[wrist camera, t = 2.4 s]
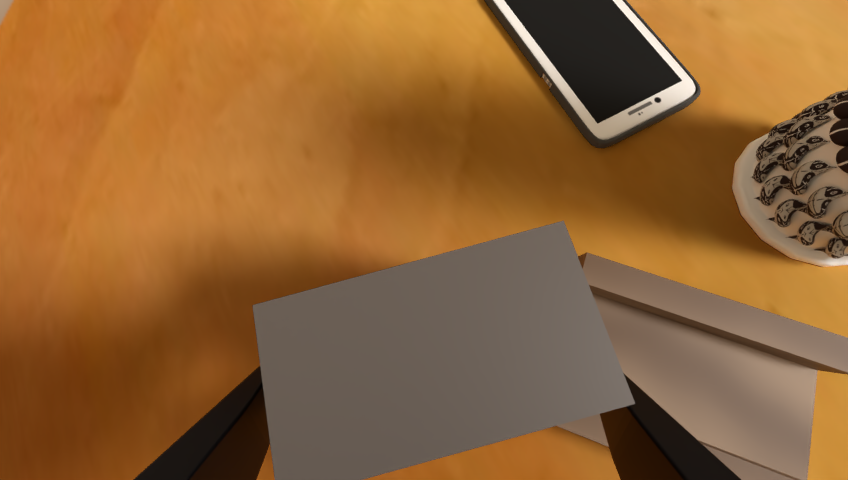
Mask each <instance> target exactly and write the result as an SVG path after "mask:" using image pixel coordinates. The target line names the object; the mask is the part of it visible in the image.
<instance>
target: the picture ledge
mask: <svg viewBox="0 0 848 480" xmlns="http://www.w3.org/2000/svg"><path fill="white" fill-rule="evenodd" d="M578 259H579V261H580V264H581V266H582V269H583V271H584V274H585V277H586V279H587V282H588V284H589V287H590V289H591V292H592V294H593V297H594V299H595V302H596V305H597V307H598V310H599V312H600V315H601V317H602V320H603V322H604V325H605V328H606V330H607V333H608V335H609V338H610V340H611V343H612V345H613V348H614V351H615V353H616V356H617V358H618V361H619V363H620V366H621V368H622V371H623V373H624V374H625V375H626V376H627V377H629V378H630V379H631V380H632V381H633V382H634V383H635V384H636V385H637V386H639V387H640V388H641V389H642V390H643V391H644V392H645V393H646V394H647V395H648V396H650V397H651V398H652V399H653V400H654V401H655V402H656V403H657V404H658V405H660V406H661V407H662V408H663V409H664V410H665V411H666V412H667V413H668V414H669V415H671V416H672V417H673V418H674V419H675V420H676V421H677V422H678V423H679V424H681V425H682V426H683V427H684V428H685V429H686V430H687V431H688V432H689V433H691V434H692V435H693V436H694V437H695V438H696V439H697V440H698V441H699V442H700V443H702V444H703V445H704V446H705V447H706V448H707V449H708V450H709V451H710V452H712V453H713V454H714V455H715V456H716V457H717V458H718V459H719V460H720V461H722V462H723V463H724V464H725V465H726V466H727V467H728V468H729V469H730V470H731V471H733V472H734V473H735V474H736V475H737V476H738V477H739V478H740V479H741V480H807V476H808V465H809V454H810V444H811V433H812V422H813V412H814V401H815V390H816V380H817V370H820V371H827V372H834V373H842V374H848V338H847V337H844V336H840V335H837V334H834V333H831V332H828V331H825V330H822V329H819V328H816V327H813V326H810V325H807V324H804V323H801V322H798V321H795V320H792V319H788V318H785V317H782V316H779V315H776V314H773V313H770V312H767V311H764V310H761V309H758V308H755V307H752V306H749V305H746V304H743V303H740V302H736V301H733V300H730V299H727V298H724V297H721V296H718V295H715V294H712V293H709V292H706V291H703V290H700V289H697V288H694V287H691V286H688V285H684V284H681V283H678V282H675V281H672V280H669V279H666V278H663V277H660V276H657V275H654V274H651V273H648V272H645V271H642V270H639V269H635V268H632V267H629V266H626V265H623V264H620V263H617V262H614V261H611V260H608V259H605V258H602V257H599V256H596V255H593V254H590V253H585V254H583V255H581V256H578ZM557 426H558V427H560V428H563V429H565V430H568V431H570V432H573V433H575V434H578V435H580V436H583V437H585V438H588V439H590V440H593V441H595V442H598V443H600V444H603V445H605V446H608V442H607V439H606V435H605V431H604V428H603V424H602V421H601V417H600V414H597V415H593V416H590V417H586V418H582V419H579V420H575V421H572V422H568V423H564V424H561V425H557ZM608 447H609V446H608Z"/></svg>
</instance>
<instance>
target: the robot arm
mask: <svg viewBox="0 0 848 480" xmlns="http://www.w3.org/2000/svg"><path fill="white" fill-rule="evenodd" d="M624 376H625V379H626V381H627V384H628V386H629V389H630V391H631V394H632V396H633V399H634V402H635V404H633V405H629V406H626V407H622V408H618V409H615V410H611V411H608V412H604V413H600V417H601V421H602V424H603V428H604V431H605V435H606V439H607V442H608V446H609V449H610V452H611V455H612V458H613V461H614V464H615V466H616V469H617V471H618V474H619V476H620V479H621V480H741V479H740V478H739V477H738V476H737V475H736V474H735V473H734V472H733V471H731V470H730V469H729V468H728V467H727V466H726V465H725V464H724V463H723V462H722V461H720V460H719V459H718V458H717V457H716V456H715V455H714V454H713V453H712V452H710V451H709V450H708V449H707V448H706V447H705V446H704V445H703V444H702V443H700V442H699V441H698V440H697V439H696V438H695V437H694V436H693V435H692V434H691V433H689V432H688V431H687V430H686V429H685V428H684V427H683V426H682V425H681V424H679V423H678V422H677V421H676V420H675V419H674V418H673V417H672V416H671V415H669V414H668V413H667V412H666V411H665V410H664V409H663V408H662V407H661V406H660V405H658V404H657V403H656V402H655V401H654V400H653V399H652V398H651V397H650V396H648V395H647V394H646V393H645V392H644V391H643V390H642V389H641V388H640V387H639V386H637V385H636V384H635V383H634V382H633V381H632V380H631V379H630V378H629V377H627V376H626V375H625V374H624ZM269 444H270V438H269V430H268V422H267V414H266V406H265V399H264V391H263V383H262V375H261V367H260V366H259V367H258V368H257V369H256V370H255V371H254V372H252V373H251V374H250V375H249V376H248V377H247V378H246V379H245V380H244V381H242V382H241V383H240V384H239V385H238V386H237V387H236V388H235V389H234V390H232V391H231V392H230V393H229V394H228V395H227V396H226V397H225V398H224V399H222V400H221V401H220V402H219V403H218V404H217V405H216V406H215V407H214V408H212V409H211V410H210V411H209V412H208V413H207V414H206V415H205V416H204V417H202V418H201V419H200V420H199V421H198V422H197V423H196V424H195V425H194V426H193V427H191V428H190V429H189V430H188V431H187V432H186V433H185V434H184V435H183V436H181V437H180V438H179V439H178V440H177V441H176V442H175V443H174V444H173V445H171V446H170V447H169V448H168V449H167V450H166V451H165V452H164V453H163V454H161V455H160V456H159V457H158V458H157V459H156V460H155V461H154V462H153V463H151V464H150V465H149V466H148V467H147V468H146V469H145V470H144V471H143V472H141V473H140V474H139V475H138V476H137V477H136V478H135V479H134V480H256V479H257V476H258V474H259V471H260V468H261V466H262V463H263V461H264V458H265V455H266V453H267V450H268V447H269Z"/></svg>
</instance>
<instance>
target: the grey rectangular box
mask: <svg viewBox="0 0 848 480" xmlns="http://www.w3.org/2000/svg"><path fill="white" fill-rule="evenodd" d="M253 313H254V321H255V328H256V336H257V344H258V352H259V360H260V367H261V375H262V383H263V391H264V399H265V406H266V414H267V422H268V430H269V438H270V445H271V453H272V461H273V469H274V477H275V480H363V479H366V478H370V477H373V476H377V475H381V474H384V473H388V472H391V471H395V470H399V469H402V468H406V467H409V466H413V465H417V464H420V463H424V462H427V461H431V460H435V459H438V458H442V457H445V456H449V455H453V454H456V453H460V452H463V451H467V450H471V449H474V448H478V447H481V446H485V445H489V444H492V443H496V442H499V441H503V440H507V439H510V438H514V437H518V436H521V435H525V434H528V433H532V432H536V431H539V430H543V429H546V428H550V427H554V426H557V425H561V424H564V423H568V422H572V421H575V420H579V419H582V418H586V417H590V416H593V415H597V414H600V413H604V412H608V411H611V410H615V409H618V408H622V407H626V406H629V405H633V404H635V402H634V399H633V396H632V394H631V391H630V389H629V386H628V384H627V381H626V379H625V376H624V373H623V371H622V368H621V366H620V363H619V361H618V358H617V356H616V353H615V351H614V348H613V345H612V343H611V340H610V338H609V335H608V333H607V330H606V328H605V325H604V322H603V320H602V317H601V315H600V312H599V310H598V307H597V305H596V302H595V299H594V297H593V294H592V292H591V289H590V287H589V284H588V282H587V279H586V277H585V274H584V271H583V269H582V266H581V264H580V261H579V259H578V256H577V254H576V251H575V248H574V246H573V243H572V241H571V238H570V236H569V233H568V231H567V228H566V225H565V223H564V221H561V222H557V223H554V224H550V225H546V226H543V227H539V228H535V229H532V230H528V231H524V232H521V233H517V234H513V235H509V236H506V237H502V238H498V239H495V240H491V241H487V242H484V243H480V244H476V245H473V246H469V247H465V248H462V249H458V250H454V251H450V252H447V253H443V254H439V255H436V256H432V257H428V258H425V259H421V260H417V261H414V262H410V263H406V264H403V265H399V266H395V267H391V268H388V269H384V270H380V271H377V272H373V273H369V274H366V275H362V276H358V277H355V278H351V279H347V280H344V281H340V282H336V283H332V284H329V285H325V286H321V287H318V288H314V289H310V290H307V291H303V292H299V293H296V294H292V295H288V296H285V297H281V298H277V299H274V300H270V301H266V302H262V303H259V304H255V305H253Z"/></svg>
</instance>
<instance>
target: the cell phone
mask: <svg viewBox="0 0 848 480" xmlns="http://www.w3.org/2000/svg"><path fill="white" fill-rule="evenodd" d="M485 2H486V4H487V5H488V6H489V8H490V9H491V11H492V12H493V13H494V15H495V16H496V17H497V19H498V20H499V22H500V23H501V24H502V26H503V27H504V28H505V30H506V31H507V32H508V34H509V35H510V37H511V38H512V39H513V41H514V42H515V43H516V45H517V46H518V48H519V49H520V50H521V52H522V53H523V54H524V56H525V57H526V58H527V60H528V61H529V63H530V64H531V65H532V67H533V68H534V69H535V71H536V72H537V74H538V75H539V76H540V78H541V77H543V79H544V80H545V82H546V83H547V84H548V86H549V87H550V89H549V90H550V91H551V93H552V94H553V95H554V97H555V98H556V99H557V101H558V102H559V104H560V105H561V106H562V108H563V109H564V110H565V112H566V113H567V114H568V116H569V117H570V118H571V120H572V121H573V123H574V124H575V125H576V127H577V128H578V129H579V131H580V132H581V133H582V135H583V136H584V137H585V138H586V139H587V140H588V141H589V143H590V144H591V145H593V146H595V147H596V148H605V147H609V146H611V145H613V144H616V143H618V142H620V141H622V140H624V139H625V138H627V137H629V136H631V135H633V134H635V133H637V132H639V131H641V130H643V129H645V128H647V127H649V126H651V125H653V124H655V123H657V122H659V121H661V120H662V119H664V118H666V117H668V116H670V115H672V114H674V113H676V112H678V111H680V110H682V109H684V108H685V107H687V106H688V105H690V104H691V103H692V102H693V101H694V100H696V98H697V97H698V96H699V95H700V86H699V84H698V83H697V81H696V80H695V79H694V77H693V76H692V75H691V74H690V72H689V71H688V70H687V69H686V68H685V67H684V65H683V64H682V63H681V62H680V61H679V60H678V59H677V58H676V56H675V55H674V54H673V53H672V52H671V51H670V50H669V48H668V47H667V46H666V45H665V44H664V43H663V42H662V41H661V39H660V38H659V37H658V36H657V35H656V34H655V33H654V31H653V30H652V29H651V28H650V27H649V26H648V25H647V23H646V22H645V21H644V20H643V19H642V18H641V17H640V16H639V14H638V13H637V12H636V11H635V10H634V9H633V8H632V6H631V5H630V4H629V3H628V2H627V1H626V0H485ZM653 35H654V36H655V37H654V36H653ZM658 41H659V42H660V43H661V44H662V45H661V44H660V43H659V42H658ZM666 50H667V51H668V52H669V53H668V52H667V51H666ZM673 58H674V59H675V60H676V61H675V60H674V59H673Z"/></svg>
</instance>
